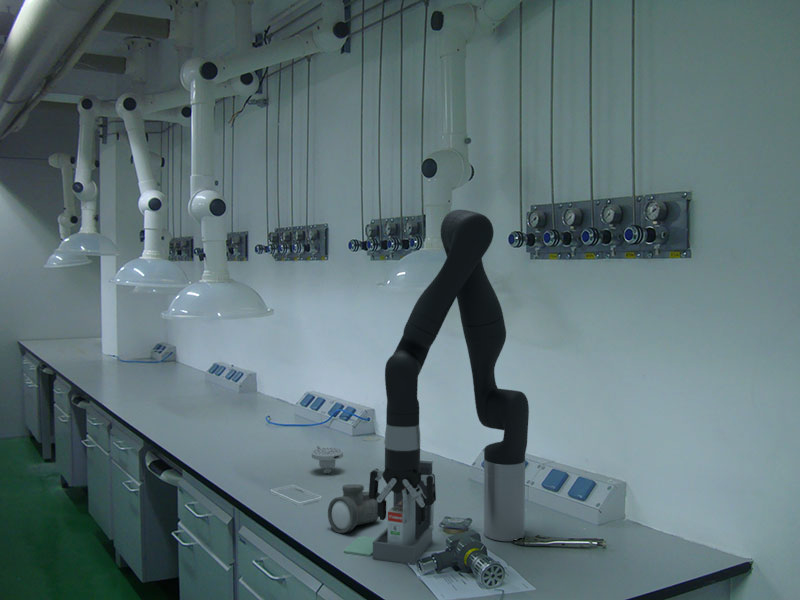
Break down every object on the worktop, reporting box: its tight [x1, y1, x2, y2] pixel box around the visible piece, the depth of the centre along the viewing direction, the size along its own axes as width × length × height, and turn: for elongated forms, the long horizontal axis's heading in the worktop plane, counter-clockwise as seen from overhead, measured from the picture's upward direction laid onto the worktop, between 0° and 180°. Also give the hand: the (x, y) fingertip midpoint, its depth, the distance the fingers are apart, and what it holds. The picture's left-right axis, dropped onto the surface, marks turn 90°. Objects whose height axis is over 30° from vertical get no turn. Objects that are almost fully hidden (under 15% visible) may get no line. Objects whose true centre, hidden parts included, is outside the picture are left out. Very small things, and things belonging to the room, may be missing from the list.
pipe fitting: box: [327, 483, 380, 534], centre depth 161 cm, size 12×8×10 cm, turn 137°
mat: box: [343, 535, 377, 557], centre depth 148 cm, size 9×6×1 cm, turn 161°
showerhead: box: [311, 445, 344, 474], centre depth 206 cm, size 9×7×10 cm
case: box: [372, 459, 435, 565], centre depth 146 cm, size 14×10×18 cm
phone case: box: [270, 484, 323, 507], centre depth 183 cm, size 7×1×15 cm
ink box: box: [387, 487, 416, 546], centre depth 145 cm, size 4×8×15 cm, turn 158°
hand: (401, 521), depth 144 cm, fingers open, 8 cm apart
